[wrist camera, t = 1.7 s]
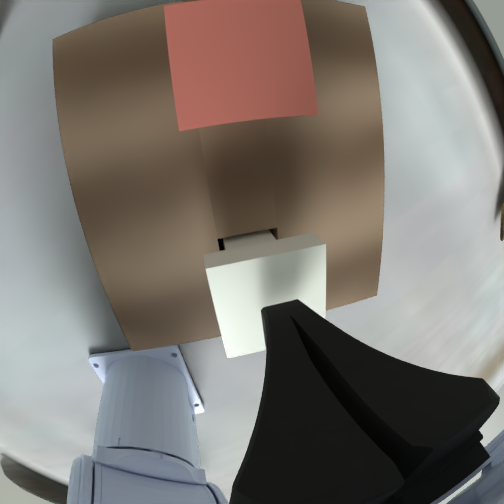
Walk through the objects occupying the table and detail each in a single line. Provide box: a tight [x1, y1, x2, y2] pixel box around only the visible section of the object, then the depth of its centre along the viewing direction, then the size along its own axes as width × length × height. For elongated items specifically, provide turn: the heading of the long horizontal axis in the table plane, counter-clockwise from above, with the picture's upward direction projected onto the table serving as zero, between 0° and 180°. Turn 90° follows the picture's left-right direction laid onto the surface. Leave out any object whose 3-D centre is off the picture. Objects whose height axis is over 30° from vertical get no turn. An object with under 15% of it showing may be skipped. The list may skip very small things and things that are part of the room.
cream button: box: [204, 229, 326, 358], centre depth 13 cm, size 4×4×5 cm
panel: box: [53, 0, 384, 351], centre depth 15 cm, size 18×16×4 cm
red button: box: [164, 0, 318, 132], centre depth 9 cm, size 4×4×5 cm
